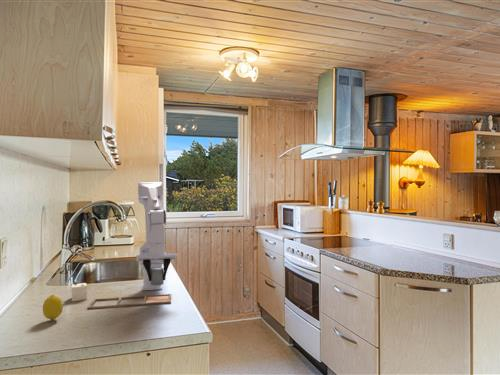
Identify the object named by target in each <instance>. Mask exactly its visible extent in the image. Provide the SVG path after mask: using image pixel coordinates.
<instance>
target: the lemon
mask: <svg viewBox="0 0 500 375" xmlns="http://www.w3.org/2000/svg"><path fill="white" fill-rule="evenodd" d="M63 307H64V306H63V301H62V299H61V297H59V296H58V295H54V294H51V295H50V296H48V297H47V298H46V299H45V300H44V302H43V305H42V313H43V316H44V318H46V319H47V320H48V319H49V320H51V321H55V320H56V319H57V318H58V317H60V315H61V314H62V312H63V309H64V308H63Z"/></svg>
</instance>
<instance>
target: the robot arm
mask: <svg viewBox="0 0 500 375" xmlns="http://www.w3.org/2000/svg"><path fill="white" fill-rule="evenodd" d="M137 185H138V186H137V195H138V198H137V199H138V201H139V202H138V203H139V204H140V205H143V209H144V220H145V221H144V222H145V224H144V225H145V242H144V243H143V244H142V245H140V248H139V254H137V255H135V261H136V262H139V265H140V266H141V267H143V268H142V270H143V272H142V275H143V277H142V279H143V284H142V288H141V291H154V290H159V291H160V290H163V285H164V284H162V285H157V286H154V285H151V269H152V268H162V266H163V281H166V275H167V273H168V272H167V271H168V269H169V266H170V263H171V260H174V261H175V260H178V253H166V239H165V238H166V237H165V236H166V235H165V234H166V232H165V231H166V229H165V228H166V225H167V212H166V209H165V208H163V203H162V197H163V193H164V192H163V191H164V189H163V188H164V187H163V183H162V181H151V182H150V181H145V182H144V181H139V182H138V183H137Z"/></svg>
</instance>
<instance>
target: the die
mask: <svg viewBox="0 0 500 375" xmlns="http://www.w3.org/2000/svg"><path fill="white" fill-rule="evenodd" d="M87 286H88V285H87V282H81V283H80V282H79V283H73V284H71V302H76V301H77V302H78V301H85V300H87V299H88V295H87V294H88V293H87V292H88V288H87Z"/></svg>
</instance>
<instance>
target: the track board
mask: <svg viewBox="0 0 500 375" xmlns="http://www.w3.org/2000/svg"><path fill="white" fill-rule="evenodd" d="M133 299H135V300H136V299H143V300H142V302H139V303H126V304H125V303H124V304H121V302H122V300H133ZM101 301H102V302H103V301H117V302H116V303H115V304H110V305H109V304H108V305H96V306H94V304H95V303H96V302H101ZM171 303H172V293H165V294H164V293H163V294H153V295H152V294H150V295H148V294H147V295H134V296H133V295H132V296H119V297H118V296H116V297H101V298H94V299H92V301H91V302H90V303H89V305H88V306H87V310H95V309H99V310H100V309H110V308H111V309H112V308H113V309H114V308H125V307H140V306H151V305H152V306H153V305H154V306H155V305H156V306H157V305H169V304H171Z"/></svg>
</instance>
